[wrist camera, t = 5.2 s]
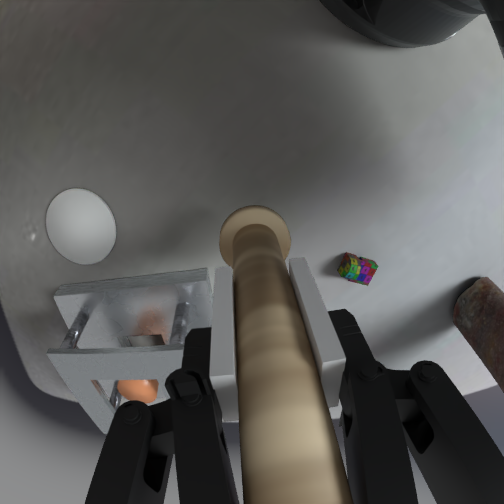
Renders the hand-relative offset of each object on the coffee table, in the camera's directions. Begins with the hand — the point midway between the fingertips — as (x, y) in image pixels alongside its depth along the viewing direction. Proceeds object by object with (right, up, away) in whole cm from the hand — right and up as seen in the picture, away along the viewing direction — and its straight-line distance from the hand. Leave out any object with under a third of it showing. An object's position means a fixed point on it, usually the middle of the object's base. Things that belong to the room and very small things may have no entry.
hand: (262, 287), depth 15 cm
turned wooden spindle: (0, +3, +5) cm, 6 cm away
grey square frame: (-11, -7, +15) cm, 20 cm away
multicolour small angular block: (+9, +1, +14) cm, 17 cm away
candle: (+27, -4, +17) cm, 32 cm away
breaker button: (-11, -9, +12) cm, 19 cm away
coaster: (-15, +4, +9) cm, 18 cm away
